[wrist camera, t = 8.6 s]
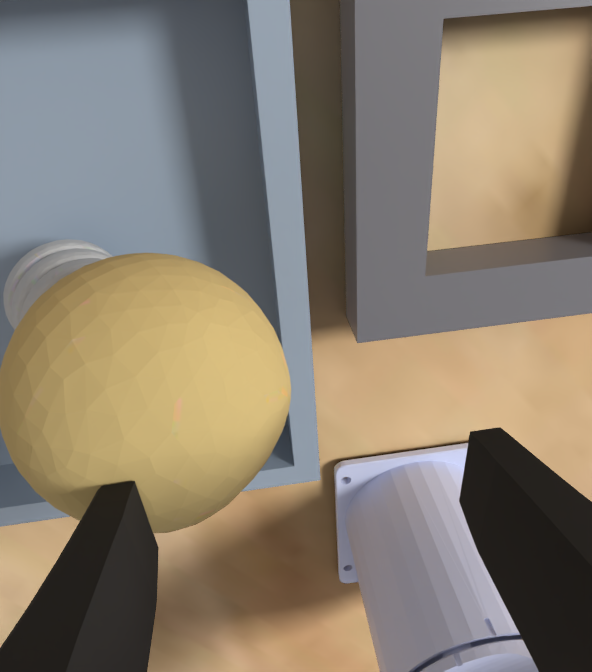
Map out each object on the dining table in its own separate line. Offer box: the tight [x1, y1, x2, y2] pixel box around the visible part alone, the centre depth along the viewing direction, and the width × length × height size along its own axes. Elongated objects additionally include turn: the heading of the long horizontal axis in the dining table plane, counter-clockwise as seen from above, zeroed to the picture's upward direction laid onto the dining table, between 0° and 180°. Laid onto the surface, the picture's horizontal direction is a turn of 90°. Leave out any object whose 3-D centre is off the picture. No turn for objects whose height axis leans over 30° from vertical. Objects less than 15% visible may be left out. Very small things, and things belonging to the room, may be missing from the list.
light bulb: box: [0, 239, 291, 533], centre depth 14 cm, size 6×6×10 cm
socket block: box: [340, 0, 592, 343], centre depth 17 cm, size 12×12×2 cm
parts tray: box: [0, 0, 320, 526], centre depth 17 cm, size 18×16×3 cm
